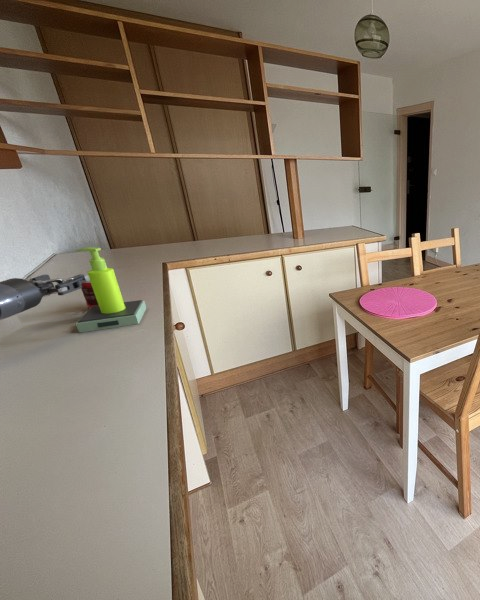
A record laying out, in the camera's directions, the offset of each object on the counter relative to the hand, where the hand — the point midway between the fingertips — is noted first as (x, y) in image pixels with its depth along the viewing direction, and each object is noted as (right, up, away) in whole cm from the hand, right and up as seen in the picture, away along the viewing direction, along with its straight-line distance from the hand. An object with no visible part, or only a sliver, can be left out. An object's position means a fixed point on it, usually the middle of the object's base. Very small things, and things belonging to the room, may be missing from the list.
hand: (66, 277), depth 85 cm
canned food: (-14, -9, +25) cm, 30 cm away
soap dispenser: (-1, -9, +15) cm, 18 cm away
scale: (-2, -12, +16) cm, 21 cm away
